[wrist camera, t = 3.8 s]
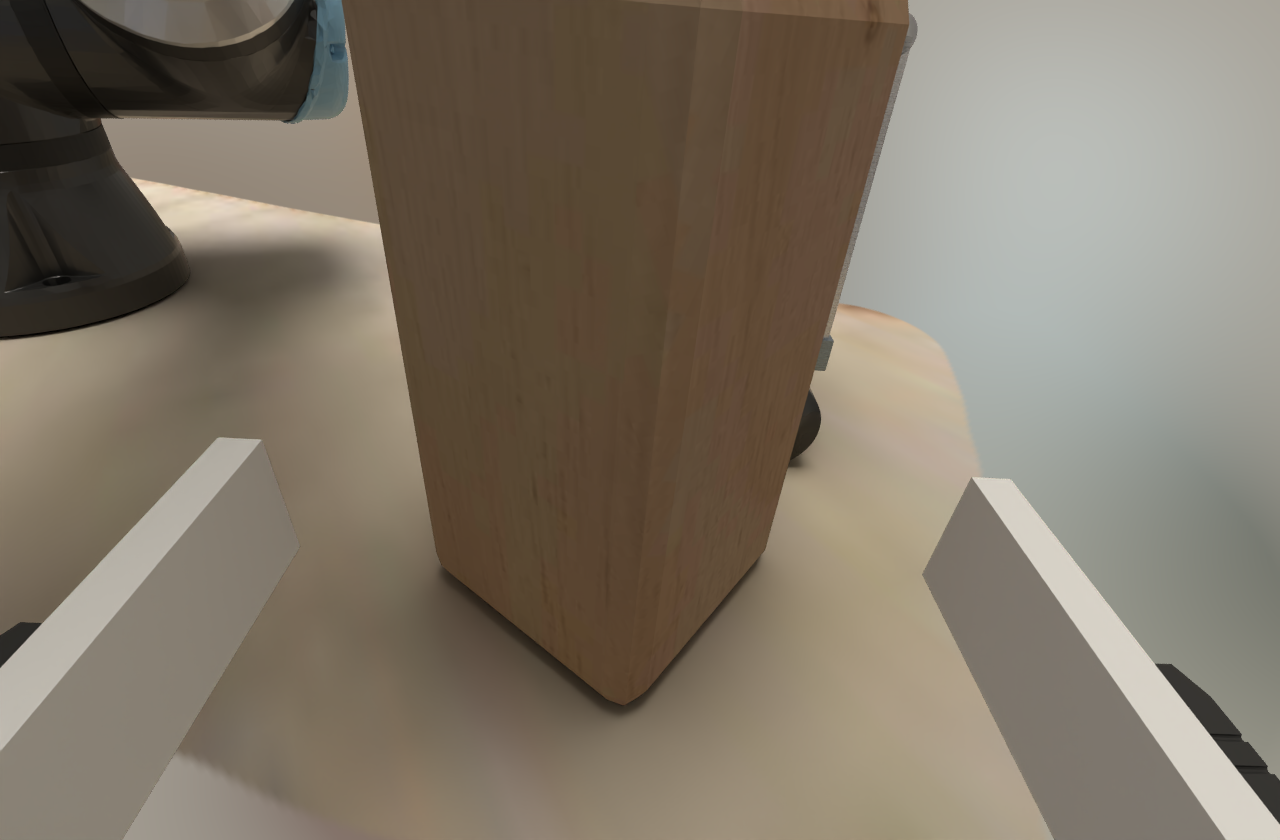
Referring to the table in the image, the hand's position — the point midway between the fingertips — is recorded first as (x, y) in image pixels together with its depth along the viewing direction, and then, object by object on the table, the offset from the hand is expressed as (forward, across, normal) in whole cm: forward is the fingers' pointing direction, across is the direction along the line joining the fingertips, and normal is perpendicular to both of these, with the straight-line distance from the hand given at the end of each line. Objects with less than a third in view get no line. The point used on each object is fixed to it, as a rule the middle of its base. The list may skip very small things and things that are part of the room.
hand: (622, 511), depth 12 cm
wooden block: (+8, 0, -11) cm, 14 cm away
